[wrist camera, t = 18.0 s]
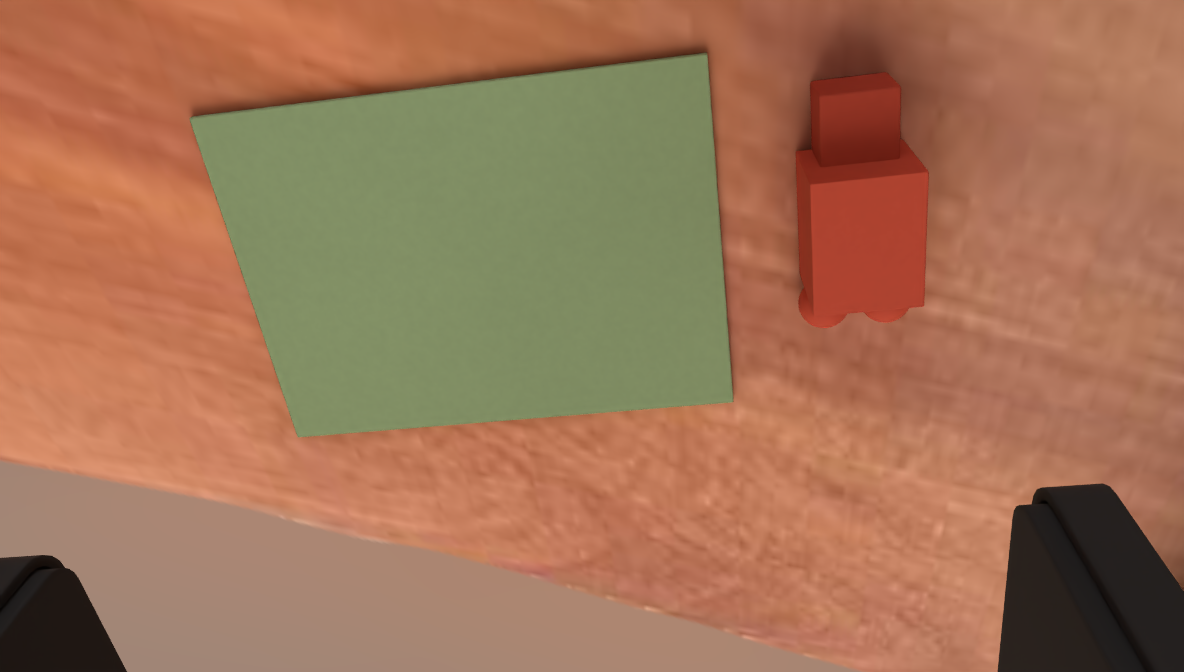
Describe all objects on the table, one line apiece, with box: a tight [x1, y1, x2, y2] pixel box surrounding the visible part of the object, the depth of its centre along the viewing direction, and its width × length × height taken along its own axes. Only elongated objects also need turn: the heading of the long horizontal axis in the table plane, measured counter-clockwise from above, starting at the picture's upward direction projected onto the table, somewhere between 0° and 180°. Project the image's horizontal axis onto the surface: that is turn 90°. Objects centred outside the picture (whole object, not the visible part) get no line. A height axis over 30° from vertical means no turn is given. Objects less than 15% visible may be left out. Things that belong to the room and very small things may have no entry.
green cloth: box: [190, 53, 733, 437], centre depth 39 cm, size 15×20×1 cm
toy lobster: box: [796, 72, 929, 328], centre depth 35 cm, size 10×4×4 cm, turn 8°
